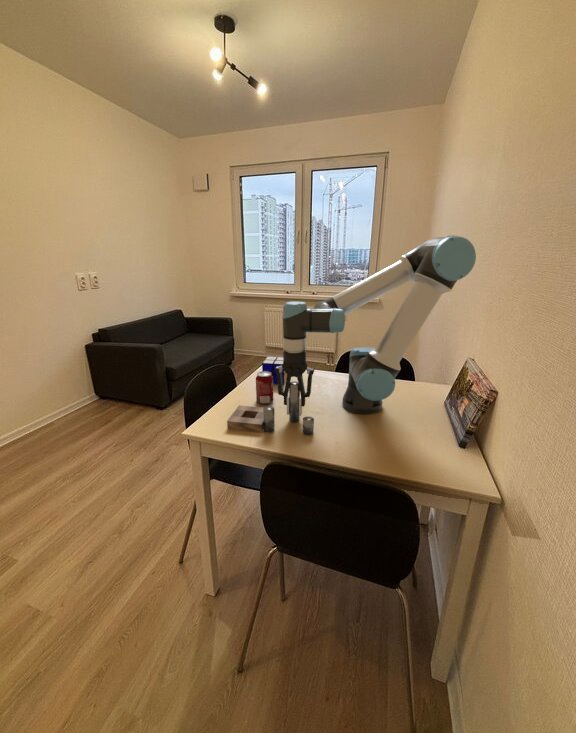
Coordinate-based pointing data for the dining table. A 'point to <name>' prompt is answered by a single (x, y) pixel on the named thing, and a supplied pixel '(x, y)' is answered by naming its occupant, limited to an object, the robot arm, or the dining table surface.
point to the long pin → (294, 401)
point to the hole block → (247, 419)
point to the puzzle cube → (270, 366)
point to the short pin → (308, 425)
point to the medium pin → (269, 419)
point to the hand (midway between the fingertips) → (294, 413)
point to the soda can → (264, 387)
